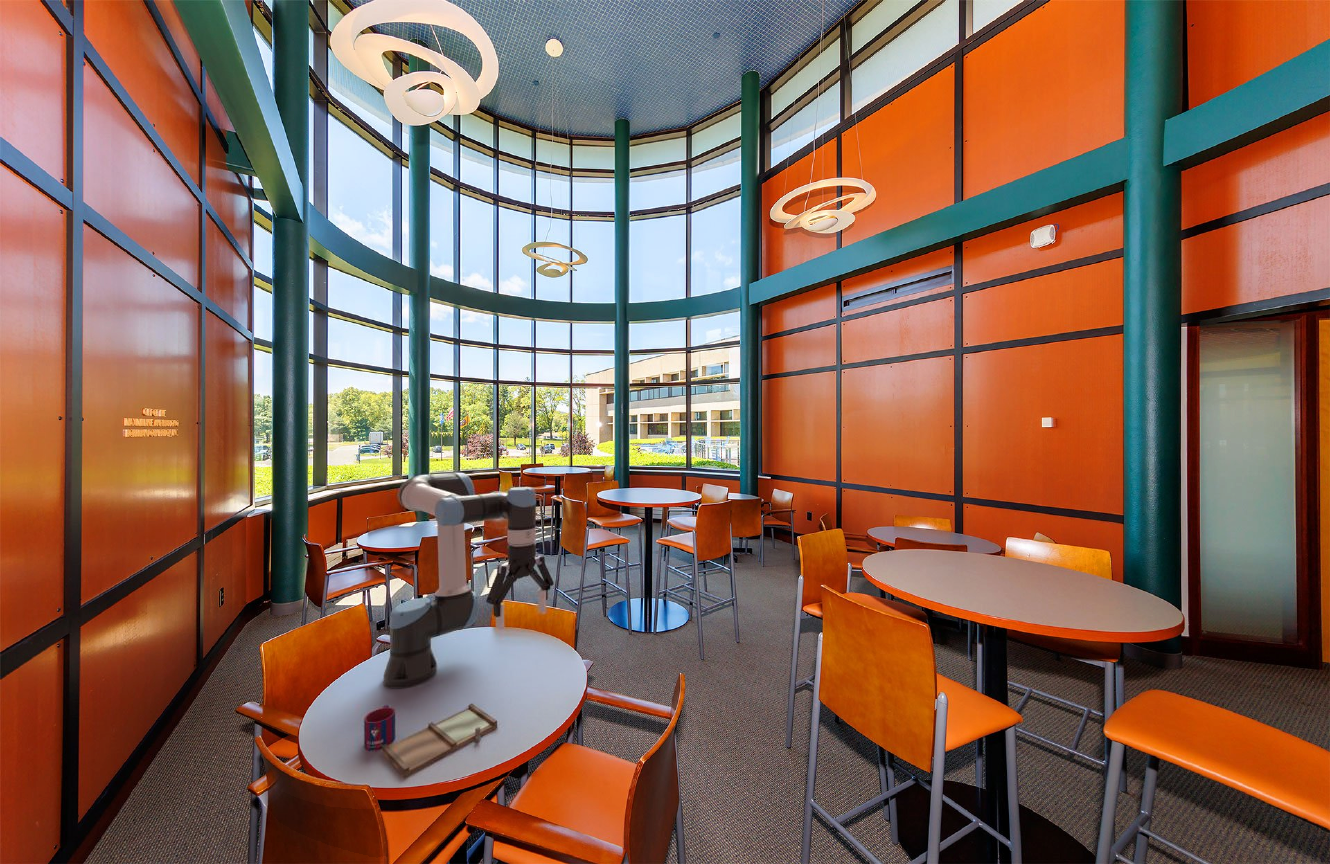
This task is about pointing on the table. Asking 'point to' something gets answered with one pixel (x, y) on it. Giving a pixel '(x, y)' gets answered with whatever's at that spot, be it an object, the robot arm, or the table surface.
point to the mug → (379, 728)
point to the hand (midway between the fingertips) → (521, 619)
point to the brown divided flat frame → (438, 740)
